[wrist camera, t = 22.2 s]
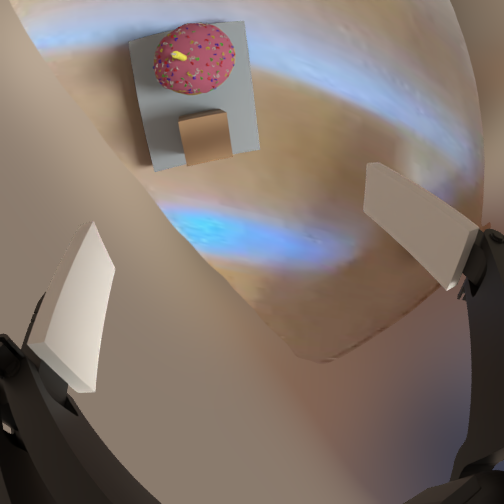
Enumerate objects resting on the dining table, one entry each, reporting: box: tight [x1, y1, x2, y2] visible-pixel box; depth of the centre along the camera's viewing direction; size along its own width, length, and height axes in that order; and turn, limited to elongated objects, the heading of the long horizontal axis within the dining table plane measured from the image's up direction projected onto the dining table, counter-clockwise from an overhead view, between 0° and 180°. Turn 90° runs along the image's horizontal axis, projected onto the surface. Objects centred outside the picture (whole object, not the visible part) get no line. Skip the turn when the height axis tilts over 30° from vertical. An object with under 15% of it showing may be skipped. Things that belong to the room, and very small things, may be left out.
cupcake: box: [153, 22, 235, 95], centre depth 21 cm, size 9×8×12 cm
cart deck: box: [128, 21, 260, 172], centre depth 29 cm, size 18×14×3 cm
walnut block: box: [178, 109, 233, 166], centre depth 28 cm, size 5×5×6 cm
